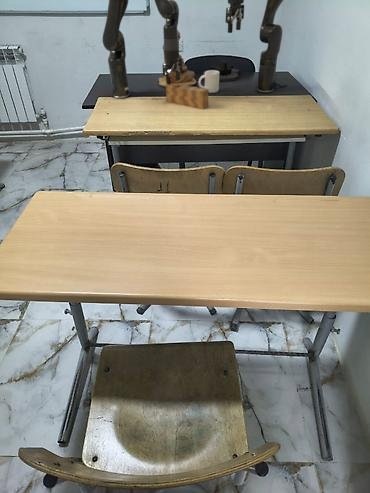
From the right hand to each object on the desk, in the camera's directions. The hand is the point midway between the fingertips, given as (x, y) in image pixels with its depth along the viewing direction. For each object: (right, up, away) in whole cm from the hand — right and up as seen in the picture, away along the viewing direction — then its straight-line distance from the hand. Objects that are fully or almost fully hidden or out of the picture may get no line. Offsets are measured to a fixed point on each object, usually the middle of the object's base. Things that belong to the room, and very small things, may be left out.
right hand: (234, 31), depth 176 cm
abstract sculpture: (0, +3, +55) cm, 55 cm away
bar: (-23, -29, +17) cm, 41 cm away
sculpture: (-29, -3, +48) cm, 56 cm away
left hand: (-30, -18, +15) cm, 39 cm away
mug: (-11, -16, +32) cm, 37 cm away
